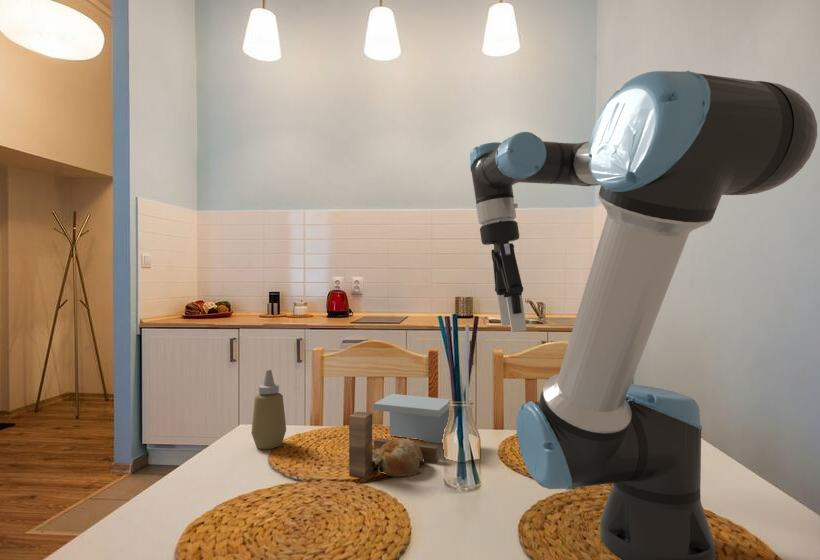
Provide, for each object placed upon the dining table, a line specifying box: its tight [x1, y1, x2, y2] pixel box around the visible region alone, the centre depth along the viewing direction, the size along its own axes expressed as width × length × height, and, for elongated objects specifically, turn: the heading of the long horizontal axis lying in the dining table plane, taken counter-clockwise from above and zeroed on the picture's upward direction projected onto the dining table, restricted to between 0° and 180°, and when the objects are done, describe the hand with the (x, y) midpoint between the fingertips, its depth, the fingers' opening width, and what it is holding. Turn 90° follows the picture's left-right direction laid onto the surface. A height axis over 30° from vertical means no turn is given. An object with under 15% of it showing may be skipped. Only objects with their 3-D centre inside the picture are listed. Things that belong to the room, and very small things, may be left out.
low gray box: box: [373, 393, 450, 444], centre depth 115 cm, size 10×16×10 cm, turn 68°
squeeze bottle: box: [251, 369, 287, 450], centre depth 115 cm, size 8×8×18 cm
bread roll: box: [373, 438, 424, 478], centre depth 101 cm, size 10×10×8 cm
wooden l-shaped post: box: [348, 411, 439, 478], centre depth 101 cm, size 14×15×12 cm
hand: (513, 328), depth 96 cm, fingers open, 13 cm apart
